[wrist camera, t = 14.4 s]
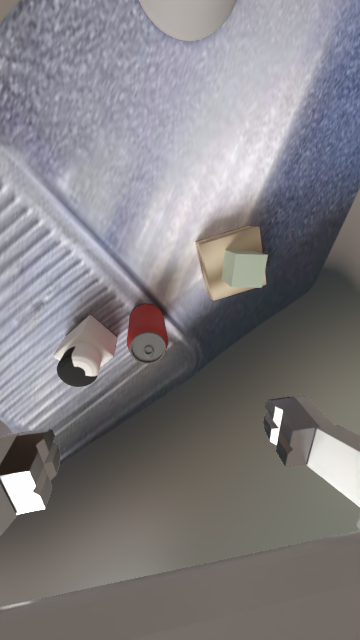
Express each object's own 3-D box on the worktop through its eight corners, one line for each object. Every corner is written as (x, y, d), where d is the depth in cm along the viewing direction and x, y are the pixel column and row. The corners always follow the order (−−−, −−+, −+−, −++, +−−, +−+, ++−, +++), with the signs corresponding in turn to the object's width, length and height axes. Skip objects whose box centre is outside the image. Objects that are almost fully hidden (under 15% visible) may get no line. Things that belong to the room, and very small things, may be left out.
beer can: (131, 335, 48) (128, 369, 37) (127, 304, 46) (123, 331, 35) (164, 331, 49) (170, 364, 38) (162, 301, 46) (168, 327, 35)
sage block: (225, 249, 39) (235, 253, 35) (253, 250, 40) (267, 254, 36) (221, 279, 41) (231, 287, 37) (248, 280, 42) (261, 287, 38)
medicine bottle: (93, 359, 49) (79, 400, 38) (64, 337, 46) (40, 374, 35) (118, 337, 48) (111, 373, 37) (90, 313, 45) (74, 344, 34)
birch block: (194, 241, 43) (200, 244, 39) (247, 225, 43) (259, 226, 39) (206, 292, 47) (213, 300, 43) (254, 277, 48) (266, 284, 43)
